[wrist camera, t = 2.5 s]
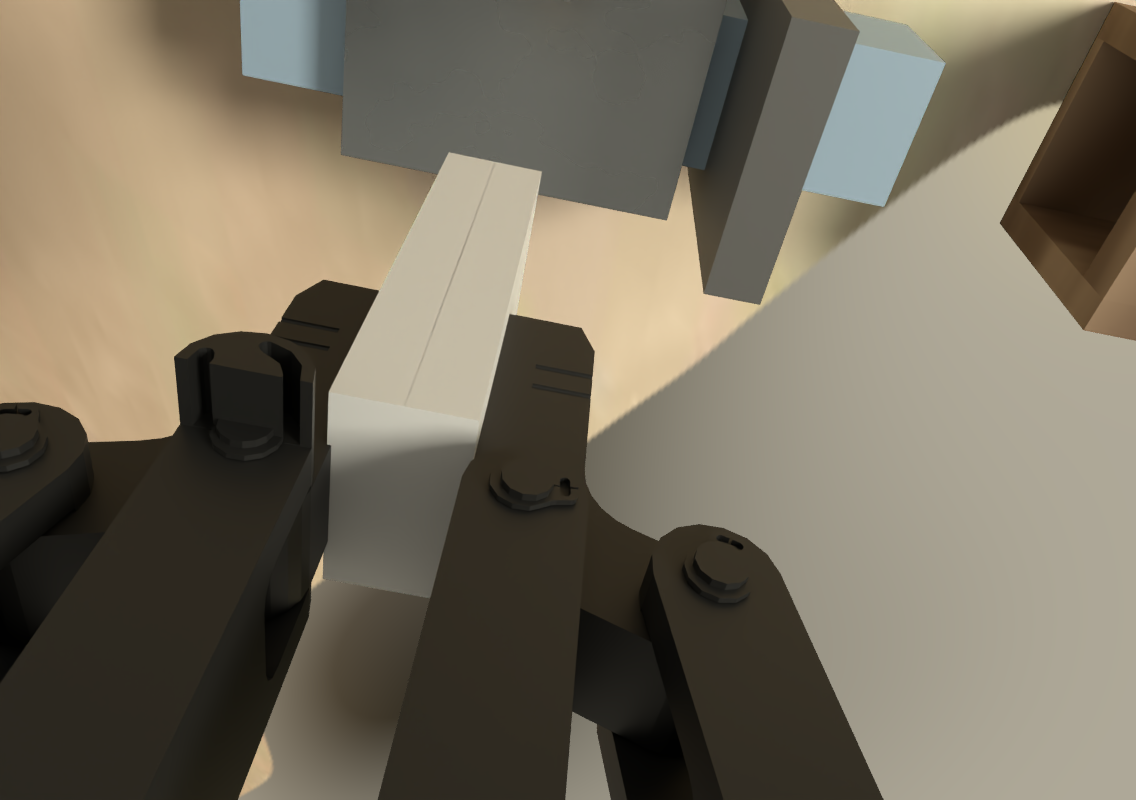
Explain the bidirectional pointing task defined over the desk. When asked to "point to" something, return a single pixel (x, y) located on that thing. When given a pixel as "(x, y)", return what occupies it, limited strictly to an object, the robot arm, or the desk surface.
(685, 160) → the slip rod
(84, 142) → the desk surface
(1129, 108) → the socket block
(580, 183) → the sleeve
